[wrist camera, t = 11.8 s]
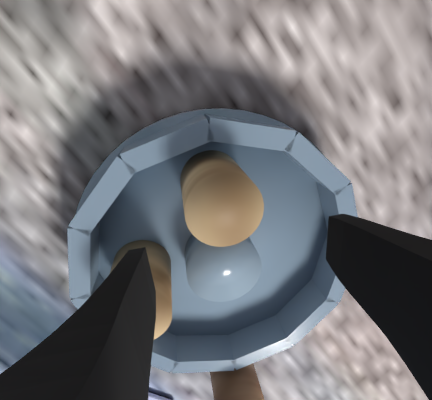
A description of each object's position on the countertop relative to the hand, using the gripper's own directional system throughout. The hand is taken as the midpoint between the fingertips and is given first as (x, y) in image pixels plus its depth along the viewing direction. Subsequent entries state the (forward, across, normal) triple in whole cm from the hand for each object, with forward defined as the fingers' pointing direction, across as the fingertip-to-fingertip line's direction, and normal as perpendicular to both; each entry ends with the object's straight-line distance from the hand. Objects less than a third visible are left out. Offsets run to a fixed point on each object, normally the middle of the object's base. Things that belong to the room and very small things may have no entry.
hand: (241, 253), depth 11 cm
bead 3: (+9, 0, +18) cm, 20 cm away
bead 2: (+8, 0, 0) cm, 8 cm away
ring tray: (+9, 0, +5) cm, 11 cm away
